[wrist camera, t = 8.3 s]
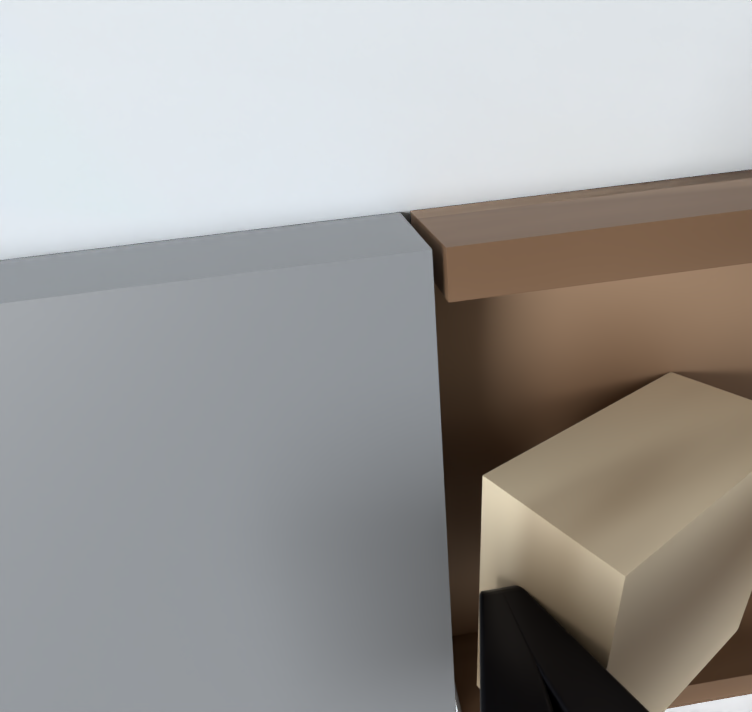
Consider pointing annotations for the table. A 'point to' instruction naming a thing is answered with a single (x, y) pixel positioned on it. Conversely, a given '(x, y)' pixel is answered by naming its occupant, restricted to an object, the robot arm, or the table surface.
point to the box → (580, 344)
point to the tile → (633, 531)
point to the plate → (225, 475)
